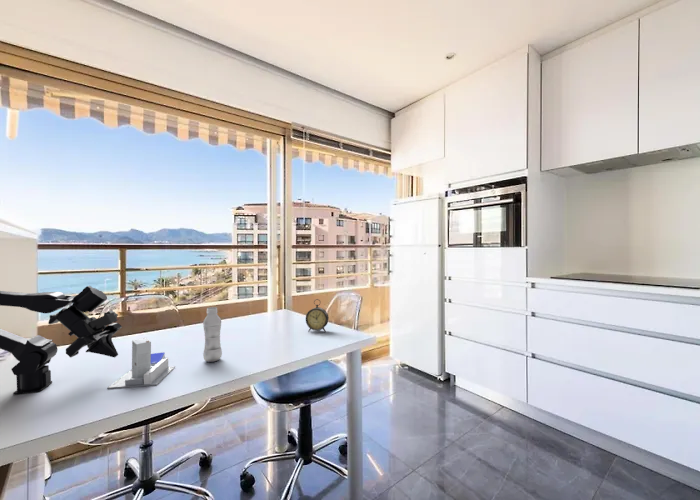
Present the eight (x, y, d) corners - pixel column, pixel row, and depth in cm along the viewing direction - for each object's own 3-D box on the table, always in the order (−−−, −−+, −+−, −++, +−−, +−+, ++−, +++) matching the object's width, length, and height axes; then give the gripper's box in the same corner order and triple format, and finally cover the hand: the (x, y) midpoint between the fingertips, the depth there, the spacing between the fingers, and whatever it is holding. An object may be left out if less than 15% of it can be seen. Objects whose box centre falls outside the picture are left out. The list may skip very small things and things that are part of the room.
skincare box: (131, 376, 102) (130, 340, 102) (147, 372, 106) (146, 336, 105) (135, 382, 98) (134, 344, 98) (152, 377, 101) (151, 341, 101)
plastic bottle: (217, 356, 121) (217, 305, 121) (225, 360, 116) (224, 308, 116) (200, 360, 117) (199, 308, 116) (207, 365, 112) (206, 310, 111)
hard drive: (159, 362, 110) (164, 352, 121) (131, 365, 107) (140, 354, 118) (159, 366, 110) (164, 356, 121) (131, 370, 107) (140, 359, 118)
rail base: (107, 388, 94) (107, 376, 94) (132, 370, 108) (131, 359, 108) (156, 385, 97) (156, 373, 96) (175, 367, 110) (174, 356, 110)
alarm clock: (305, 332, 152) (305, 299, 152) (308, 329, 158) (308, 297, 157) (326, 333, 151) (326, 300, 150) (329, 330, 156) (329, 298, 156)
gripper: (77, 311, 89) (118, 347, 91) (115, 299, 108) (149, 330, 110) (46, 339, 88) (89, 375, 90) (90, 322, 107) (125, 352, 109)
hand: (116, 356), depth 100 cm, fingers closed
